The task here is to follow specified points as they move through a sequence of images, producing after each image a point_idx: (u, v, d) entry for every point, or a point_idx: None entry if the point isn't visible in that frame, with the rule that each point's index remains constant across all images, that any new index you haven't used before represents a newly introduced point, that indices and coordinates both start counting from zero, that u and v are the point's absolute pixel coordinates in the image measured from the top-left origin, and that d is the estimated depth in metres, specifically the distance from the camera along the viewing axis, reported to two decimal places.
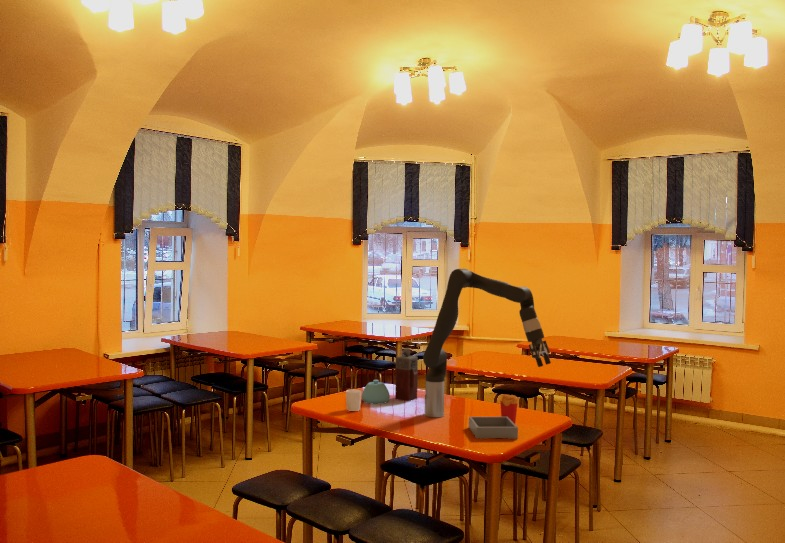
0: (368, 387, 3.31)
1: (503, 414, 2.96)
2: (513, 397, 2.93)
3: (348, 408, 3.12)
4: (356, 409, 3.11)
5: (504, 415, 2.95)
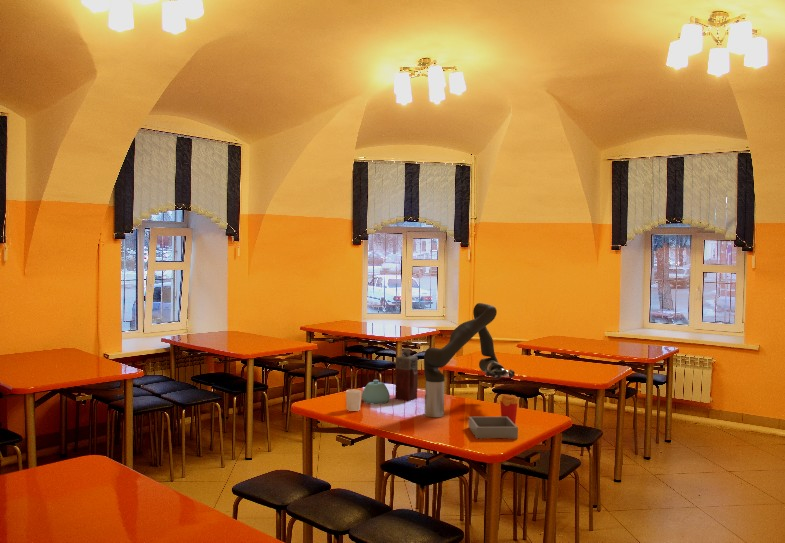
0: (368, 387, 3.31)
1: (503, 414, 2.96)
2: (513, 397, 2.93)
3: (348, 408, 3.12)
4: (356, 409, 3.11)
5: (504, 415, 2.95)
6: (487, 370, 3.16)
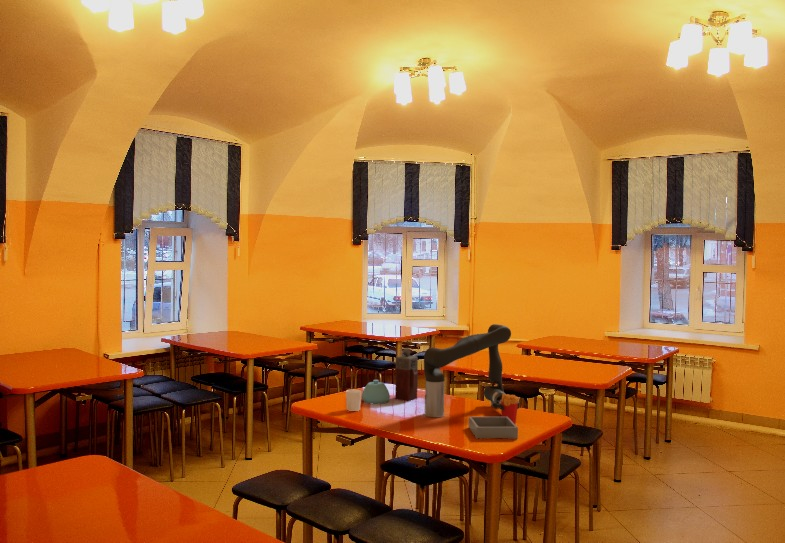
0: (368, 387, 3.31)
1: (503, 414, 2.96)
2: (513, 397, 2.93)
3: (348, 408, 3.12)
4: (356, 409, 3.11)
5: (504, 415, 2.95)
6: (494, 401, 3.02)
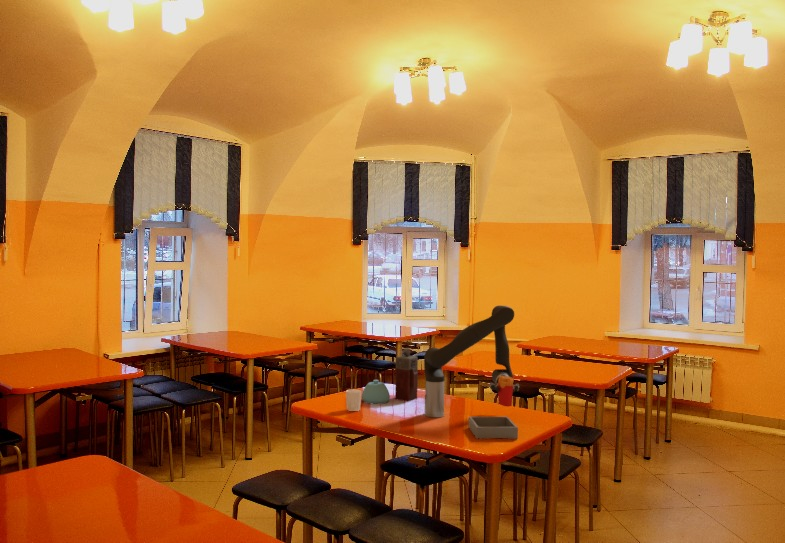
0: (368, 387, 3.31)
1: (499, 396, 2.86)
2: (509, 379, 2.83)
3: (348, 408, 3.12)
4: (356, 409, 3.11)
5: (500, 397, 2.85)
6: (492, 383, 2.93)
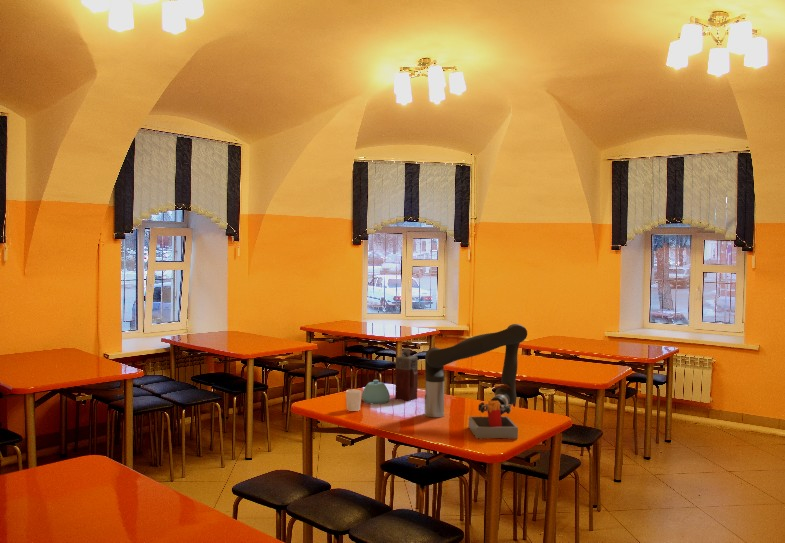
0: (368, 387, 3.31)
1: (489, 421, 2.78)
2: (495, 403, 2.74)
3: (348, 408, 3.12)
4: (356, 409, 3.11)
5: (490, 422, 2.77)
6: (482, 403, 2.86)
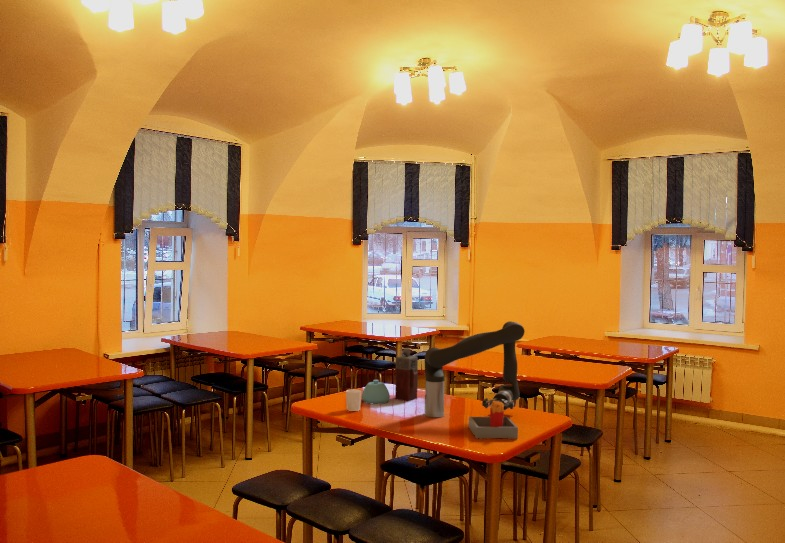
0: (368, 387, 3.31)
1: (491, 421, 2.77)
2: (499, 405, 2.73)
3: (348, 408, 3.12)
4: (356, 409, 3.11)
5: (491, 422, 2.77)
6: (486, 399, 2.93)
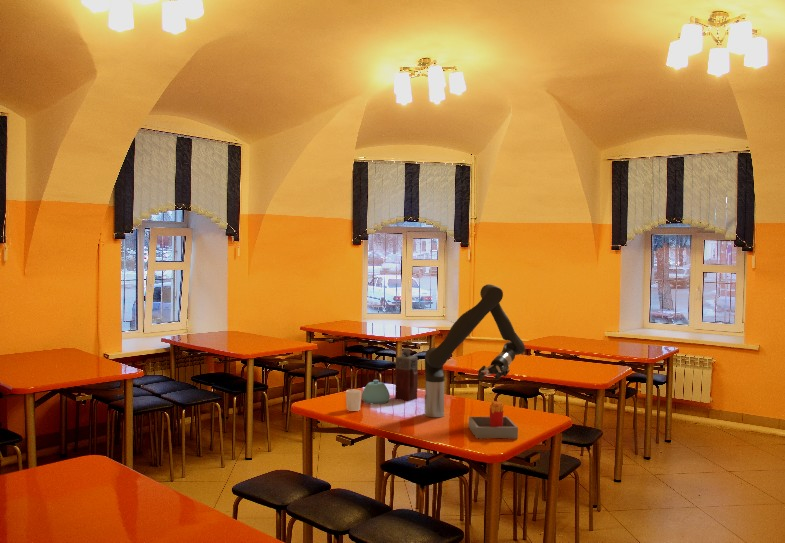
0: (368, 387, 3.31)
1: (490, 422, 2.78)
2: (498, 404, 2.74)
3: (348, 408, 3.12)
4: (356, 409, 3.11)
5: (491, 423, 2.77)
6: (482, 367, 3.01)
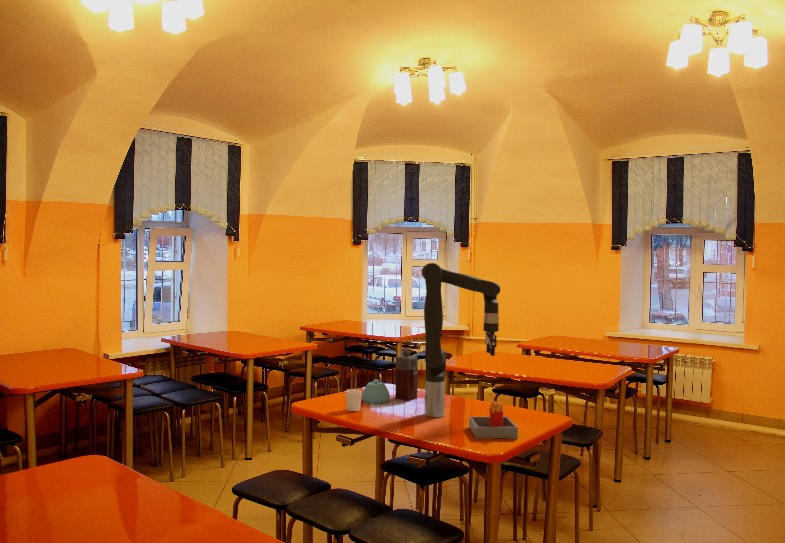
0: (368, 387, 3.31)
1: (490, 422, 2.78)
2: (498, 404, 2.74)
3: (348, 408, 3.12)
4: (356, 409, 3.11)
5: (491, 423, 2.77)
6: None
